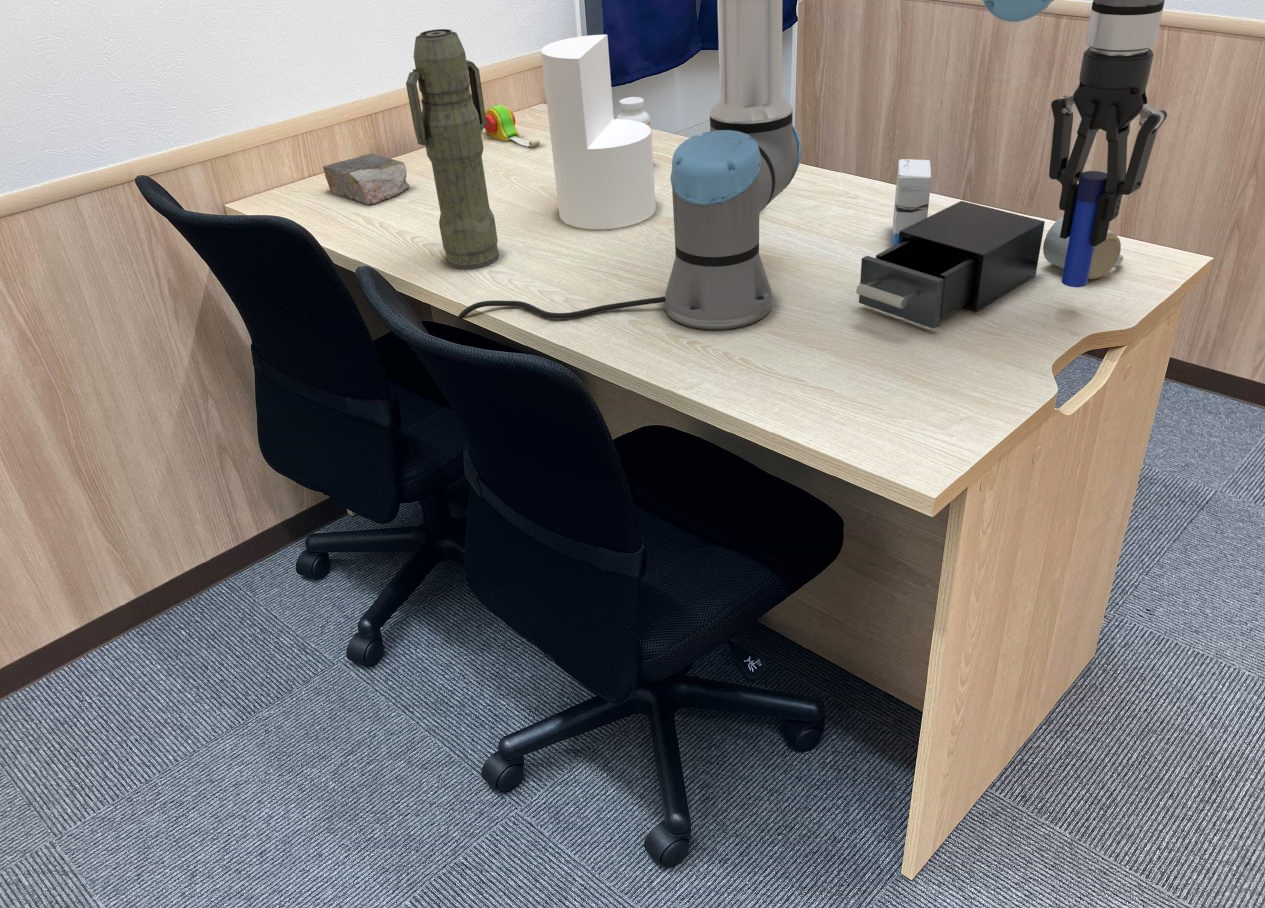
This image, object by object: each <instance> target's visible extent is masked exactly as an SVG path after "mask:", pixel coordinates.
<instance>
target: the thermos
mask: <svg viewBox="0 0 1265 908" xmlns="http://www.w3.org/2000/svg"><path fill="white" fill-rule="evenodd" d="M413 60H414V66H415V67H414V69H412V71H410V72H409V73H408V76H407V79H406V82H405V85H406V91H407V97H408V102H409V109H410V113H411V119H412V125H413V130H414V134H415V137H416V141H417V144H418V145H420V146H425V151H426V156H427V158H428V160H429V161H430V162H431V167H432V168H431V169H432V172H433V178H434V184H435V189H436V196H437V201H438V205H439V206H438V207H439V213H440V214H439V221H438V226H439V231H440V237H441V243H442V248H443V250H444V252H445V259H446V265H448V266H449V267H451V268H454V269H458V270H474V269H480V268H483V267H488V266H489V265H491V264H494V263H495V262H496V261H497V260H498V259H499V257H500V251H499V249H498V242H499V240H498V239H499V238H498V233H497V226H496V220H495V215H494V213H493V211H492V209H491V208H490V203H489V195H488V189H487V182H486V176H485V175H486V174H485V170H484V163H483V153H484V141H483V130H485V128H484V127H485V125H486V123H487V121H486V115H485V113H486V110H485V109H486V108H485V103H484V95H483V87H482V82H481V75H480V69H479V67H477V65H476V64H475V63H474V62H473V61H471V60H468V59H467V55H466V51H465V47H464V46H463V44H462V41H461V39H460V37H459V35H458V32H457V31H453V30H452V29H447V28H437V29H430V30H426V31H422V32H420V33H419V35H417V36H415V41H414V48H413ZM418 89H419V90H418ZM419 93H421V98H422V99H421V100H420V96H419ZM420 101H421V102H420Z"/></svg>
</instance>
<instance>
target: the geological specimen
mask: <svg viewBox="0 0 1265 908" xmlns="http://www.w3.org/2000/svg"><path fill="white" fill-rule="evenodd" d="M322 169H323V172H324V176H325V177H324V178H325V180H326V182H327V186H328V188H329V190H330V193H331V194H335V195H338V196H341V197H344V198H347V199H351V200H355V201H356V202H360V203H362V204H365V205H366V206H370V205H374V204H378V203H380V202H382V201H384V200H389V199H391V198H393V197H395V196H399V194H401V193H402V192H404V191H407V189H410V184H409V183H408V182H407V179H406V178H407V166H406V164H405V162H404V161H400V160H397V159H393V158H389V157H386V156H383V155H378V154H375V153H368V154H363V155H360V156H357V157H353V158H349V159H347V160H346V159H345V160H341V161H338V162H334V163H331V164H330V163H329V164H327V165H323V166H322Z"/></svg>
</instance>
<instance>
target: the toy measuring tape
mask: <svg viewBox="0 0 1265 908" xmlns="http://www.w3.org/2000/svg"><path fill="white" fill-rule="evenodd" d="M485 115H486V121H487V123H486V125H485V127H484V130H485V133H486V135H488V136H490V137H493V139H497V140H500V141H503V142H509V141H513V142H515V143H517V144H518V145H519V146H522V147H527V148H528V147H529V148H535V147H539V145H540V144H541V141H540V139H539V138H536V139H533V140H527V139H524V138H522V137H520V133H519V131H518V129H517V128H516V117H515V114H514V113H513V112H512V111H511V110H510V109H509V108H508V107H507V106H506V105H502V104H498V105H494V106H490V107H489V108H488V109H487V110H485Z"/></svg>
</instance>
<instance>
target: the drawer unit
mask: <svg viewBox="0 0 1265 908" xmlns="http://www.w3.org/2000/svg"><path fill="white" fill-rule="evenodd" d="M1045 223H1046V221H1045V220H1041V219H1037V218H1033V217H1029V216H1025V215H1022V214H1021V215H1020V214H1017V213H1013V212H1010V211H1009V212H1008V211H1004V210H1001V209H996V208H993V207H988V206H984V205H980V204H976V203H972V202H968V201H964V200H960V201H958V202H956V203H954V204H953V205H950V206H948V207H946V208H944V209H942V210H940V211H938V212H936V213H934V214H931V215H930V216H929V215H928V216H927V218H925V219H923V220H921V221H919V222H917V223H915V224H913V225H911V226H909V227H907V228H905V229H903V230H901V231H899V241H898V244H899V243H901V242H903V241H905V240H907V239H913V240H916V241H920V242H923V243H927V244H930V245H934V246H937V247H941V248H944V249H948V250H951V251H955V252H958V253H962V254H965V255H969V256H972V257H976V258H979V261H978V268H977V276H976V283H975V290H974V298H973V301H971V302H969V303H968V304H966V305H964V306H963V307H961V308H960V309H964V310H967V311H970V312H973V313H977V312H979V311H981V310H982V309H985V308H986V307H987V306H989V305H991V304H993V303H995V302H996V301H998V300H999V299H1001V298H1002V297H1004V296H1006V295H1007V294H1009V293H1011V292H1012V291H1014V290H1015V289H1017V288H1019V287H1021V286H1022V285H1024V284H1026V283H1028V282H1029V281H1030V280H1032V279H1034V278H1036V277H1037V269H1038V265H1039V260H1040V259H1039V258H1040V253H1041V246H1042V241H1043V236H1044V235H1043V234H1044V230H1045Z"/></svg>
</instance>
